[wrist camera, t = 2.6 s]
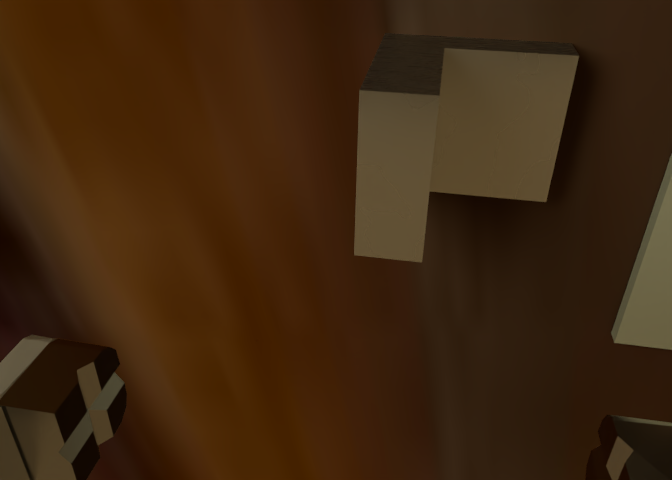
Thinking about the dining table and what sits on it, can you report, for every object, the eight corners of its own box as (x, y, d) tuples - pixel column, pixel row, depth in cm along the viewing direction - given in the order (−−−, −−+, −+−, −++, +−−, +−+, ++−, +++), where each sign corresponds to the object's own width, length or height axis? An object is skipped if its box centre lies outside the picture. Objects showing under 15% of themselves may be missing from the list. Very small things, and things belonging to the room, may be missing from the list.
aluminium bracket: (385, 33, 20) (359, 90, 15) (571, 43, 19) (609, 107, 14) (378, 168, 23) (354, 255, 18) (541, 182, 22) (564, 277, 17)
